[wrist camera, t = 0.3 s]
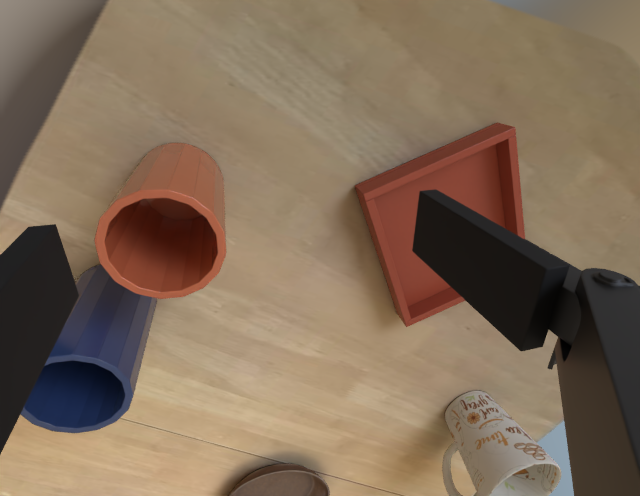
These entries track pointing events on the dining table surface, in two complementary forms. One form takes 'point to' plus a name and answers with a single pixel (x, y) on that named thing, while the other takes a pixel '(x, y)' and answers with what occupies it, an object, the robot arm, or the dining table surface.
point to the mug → (496, 451)
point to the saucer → (282, 482)
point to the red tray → (454, 181)
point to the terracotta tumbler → (166, 224)
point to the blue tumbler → (93, 358)
